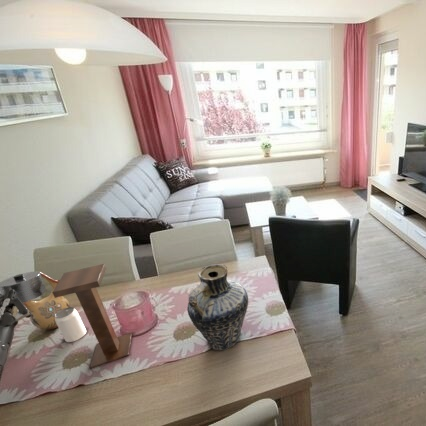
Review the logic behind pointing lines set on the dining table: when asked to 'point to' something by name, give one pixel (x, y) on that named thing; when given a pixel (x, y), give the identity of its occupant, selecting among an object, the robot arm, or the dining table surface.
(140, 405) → the dining table surface
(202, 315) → the blue patterned vase
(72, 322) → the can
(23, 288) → the pot
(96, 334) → the stand
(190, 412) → the dining table surface
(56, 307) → the ceramic vessel
